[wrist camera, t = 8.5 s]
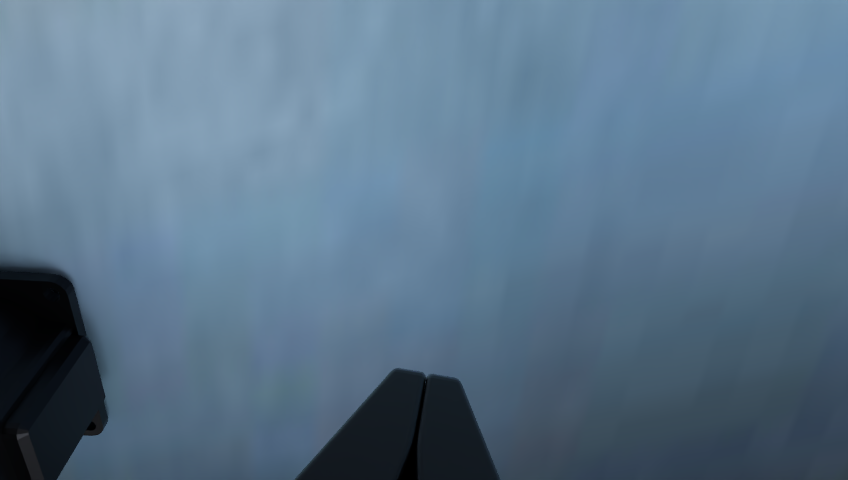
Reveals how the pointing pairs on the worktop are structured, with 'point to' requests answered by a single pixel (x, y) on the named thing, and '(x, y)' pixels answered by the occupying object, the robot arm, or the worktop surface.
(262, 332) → the worktop surface
